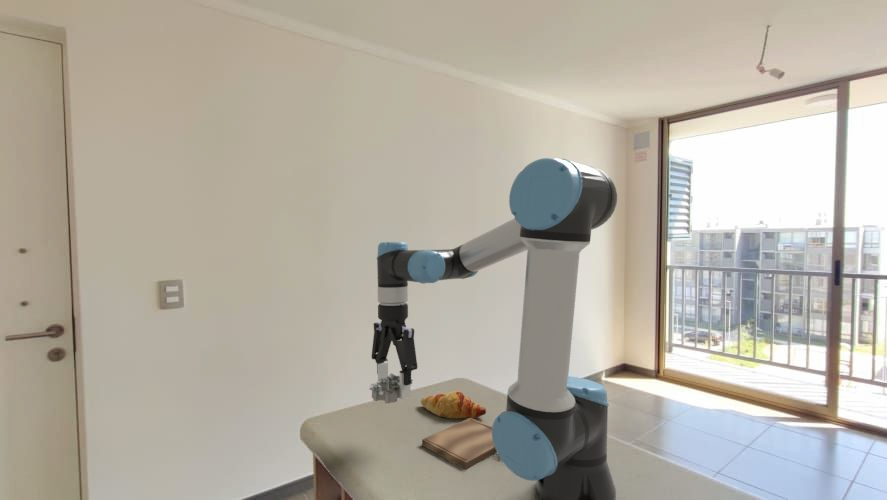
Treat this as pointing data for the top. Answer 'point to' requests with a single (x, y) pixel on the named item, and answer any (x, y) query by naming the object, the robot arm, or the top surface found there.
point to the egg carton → (387, 389)
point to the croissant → (453, 406)
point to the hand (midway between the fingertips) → (393, 392)
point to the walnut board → (463, 442)
